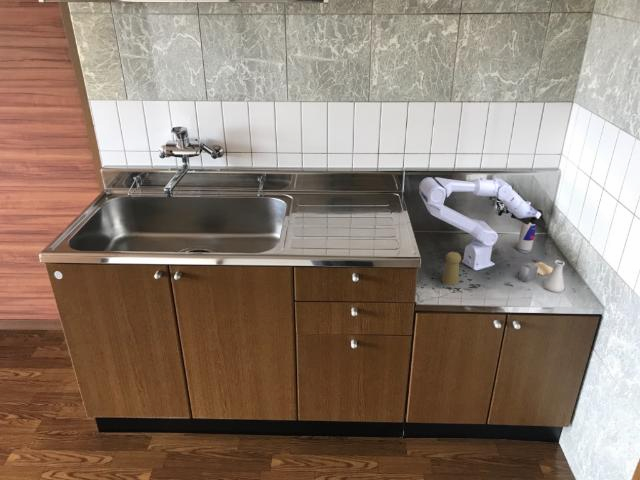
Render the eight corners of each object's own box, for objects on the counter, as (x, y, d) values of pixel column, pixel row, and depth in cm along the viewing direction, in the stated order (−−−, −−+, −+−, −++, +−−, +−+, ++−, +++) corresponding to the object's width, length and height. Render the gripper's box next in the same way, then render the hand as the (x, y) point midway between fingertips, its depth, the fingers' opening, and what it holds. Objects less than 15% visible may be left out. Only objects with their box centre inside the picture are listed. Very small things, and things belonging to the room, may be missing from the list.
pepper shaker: (459, 277, 185) (463, 250, 180) (458, 286, 180) (462, 259, 175) (442, 275, 187) (445, 248, 182) (440, 283, 182) (444, 256, 177)
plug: (523, 282, 182) (526, 270, 180) (516, 278, 185) (518, 265, 183) (539, 277, 185) (541, 265, 183) (531, 273, 188) (534, 261, 186)
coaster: (541, 276, 186) (542, 274, 186) (526, 267, 192) (527, 265, 191) (555, 271, 189) (555, 270, 189) (540, 263, 195) (540, 261, 194)
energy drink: (532, 253, 201) (538, 226, 196) (517, 252, 202) (523, 224, 197) (530, 247, 206) (535, 220, 200) (516, 246, 207) (521, 219, 201)
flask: (562, 295, 175) (569, 269, 171) (540, 289, 179) (546, 264, 174) (566, 285, 181) (572, 260, 176) (544, 279, 184) (550, 255, 179)
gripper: (536, 197, 179) (557, 218, 184) (507, 191, 192) (528, 212, 198) (524, 213, 179) (546, 234, 184) (496, 207, 192) (517, 227, 197)
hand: (536, 224), depth 191 cm, fingers open, 7 cm apart
